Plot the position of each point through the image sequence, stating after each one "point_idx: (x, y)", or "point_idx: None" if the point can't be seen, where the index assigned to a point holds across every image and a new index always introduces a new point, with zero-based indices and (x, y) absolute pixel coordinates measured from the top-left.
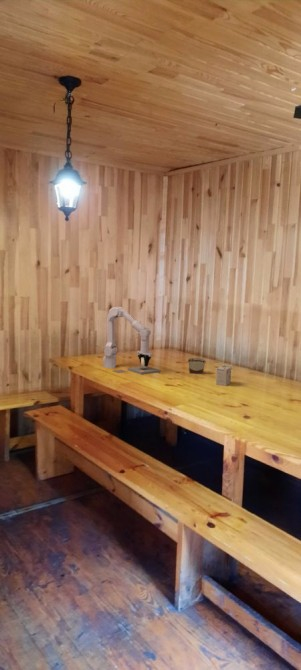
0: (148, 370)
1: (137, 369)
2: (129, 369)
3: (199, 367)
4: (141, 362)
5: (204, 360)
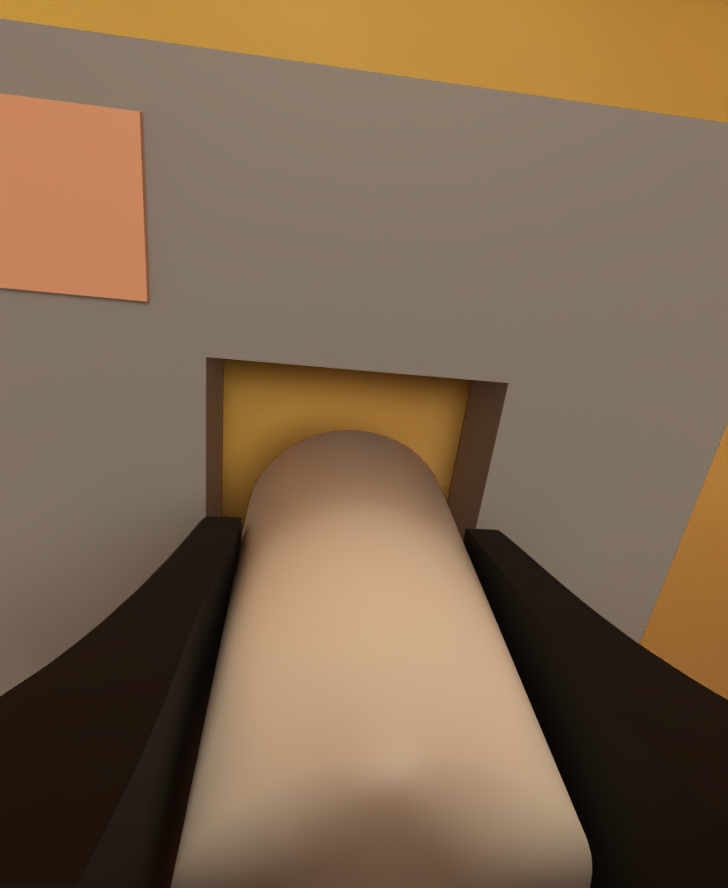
0: (94, 481)
1: (421, 279)
2: (710, 127)
3: None
4: (394, 543)
5: None
